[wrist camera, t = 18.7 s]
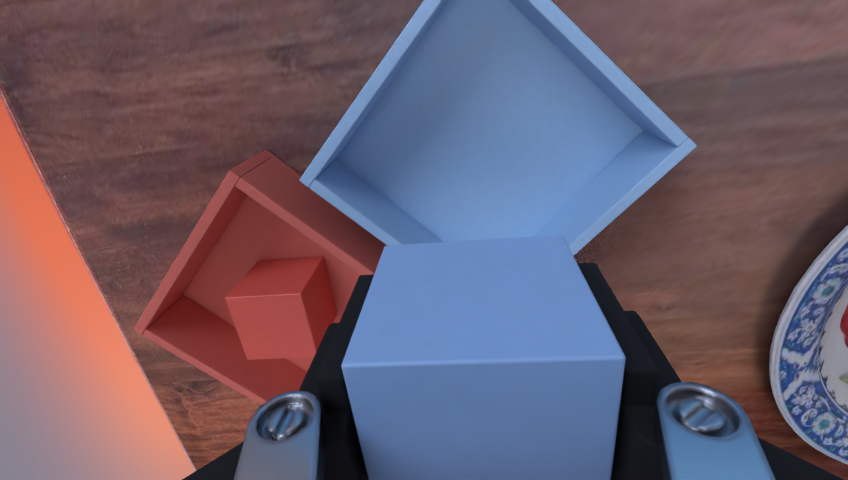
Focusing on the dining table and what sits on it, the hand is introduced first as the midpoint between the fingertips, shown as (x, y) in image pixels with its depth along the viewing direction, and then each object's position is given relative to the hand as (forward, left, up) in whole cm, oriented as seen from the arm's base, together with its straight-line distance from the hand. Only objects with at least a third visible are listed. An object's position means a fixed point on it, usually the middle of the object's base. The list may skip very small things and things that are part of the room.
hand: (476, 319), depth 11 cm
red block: (-3, -13, -14) cm, 20 cm away
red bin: (-3, -13, -15) cm, 20 cm away
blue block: (0, 0, 0) cm, 0 cm away
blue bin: (0, +2, -15) cm, 15 cm away
